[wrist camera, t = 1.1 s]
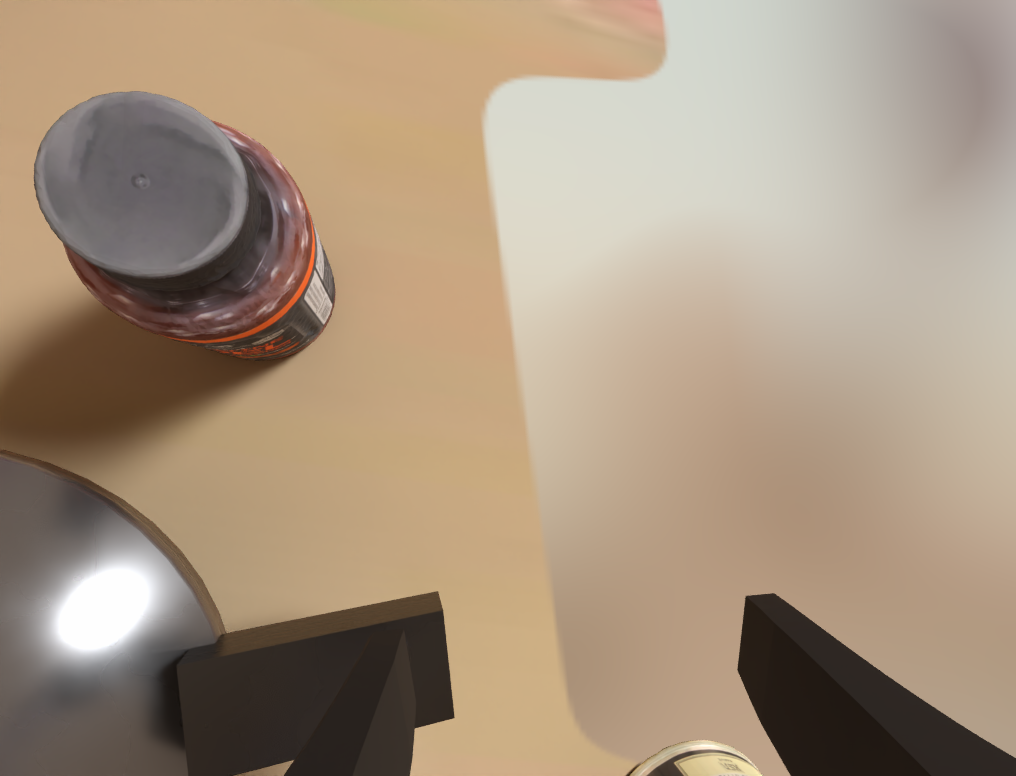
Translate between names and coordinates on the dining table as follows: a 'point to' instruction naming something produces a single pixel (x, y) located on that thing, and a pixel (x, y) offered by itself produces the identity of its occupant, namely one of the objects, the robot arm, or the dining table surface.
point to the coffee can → (697, 761)
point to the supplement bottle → (184, 226)
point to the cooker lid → (161, 647)
